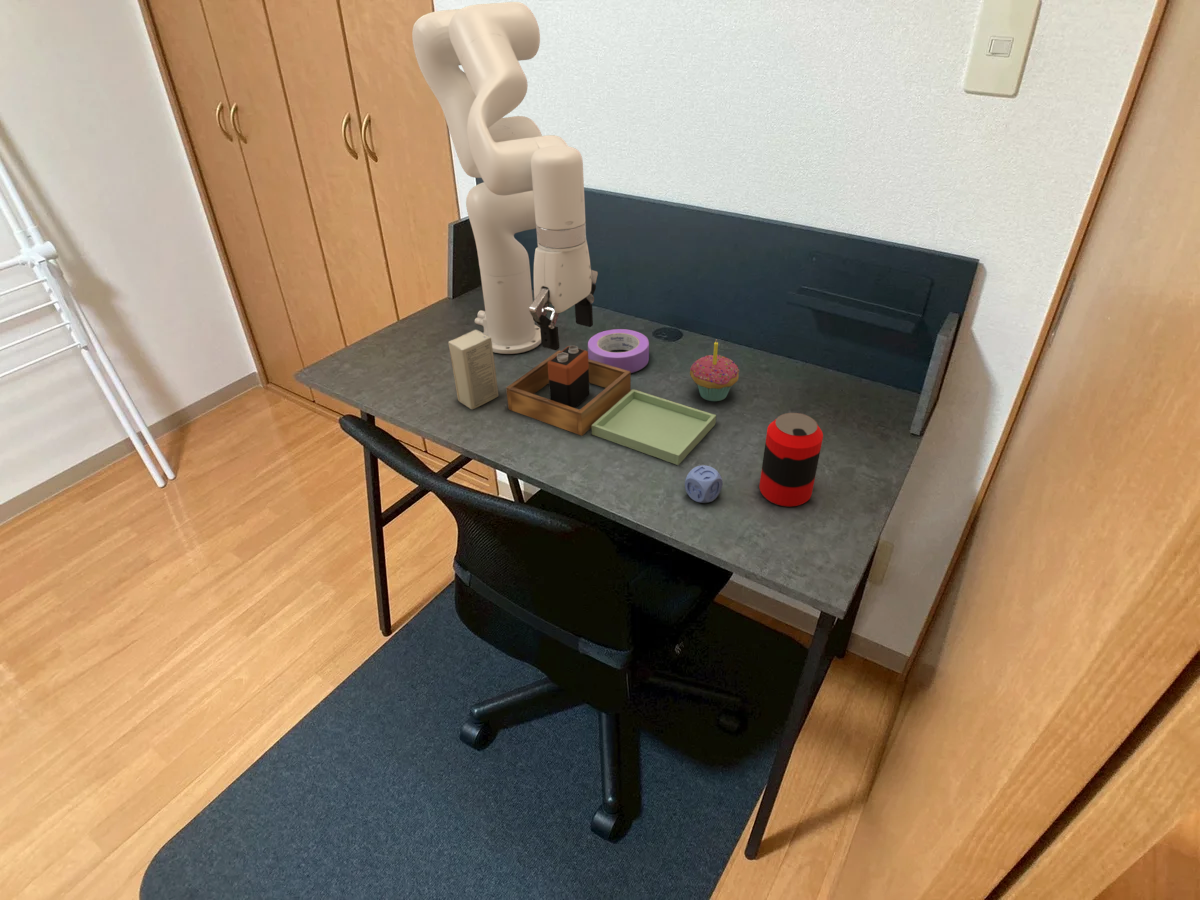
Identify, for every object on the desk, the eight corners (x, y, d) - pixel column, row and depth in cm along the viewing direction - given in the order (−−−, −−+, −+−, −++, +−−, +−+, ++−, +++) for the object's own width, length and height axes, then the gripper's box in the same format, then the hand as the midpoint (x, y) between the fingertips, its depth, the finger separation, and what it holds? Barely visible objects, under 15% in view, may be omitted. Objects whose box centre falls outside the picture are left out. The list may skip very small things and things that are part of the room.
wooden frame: (508, 409, 126) (505, 387, 123) (560, 371, 137) (558, 349, 134) (582, 436, 119) (581, 413, 116) (630, 393, 130) (630, 371, 127)
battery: (549, 407, 126) (545, 357, 120) (570, 389, 131) (567, 340, 125) (570, 413, 125) (567, 363, 119) (590, 395, 129) (589, 345, 123)
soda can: (764, 508, 103) (774, 440, 96) (754, 475, 110) (763, 409, 102) (817, 507, 103) (831, 439, 96) (804, 474, 109) (817, 408, 102)
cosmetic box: (485, 388, 132) (476, 328, 125) (500, 397, 129) (492, 336, 122) (456, 401, 129) (446, 340, 121) (471, 411, 126) (462, 349, 119)
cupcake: (735, 409, 124) (741, 347, 117) (686, 404, 126) (689, 343, 119) (737, 383, 131) (744, 324, 124) (691, 380, 133) (694, 320, 126)
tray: (591, 434, 119) (591, 425, 118) (632, 398, 128) (632, 388, 127) (678, 465, 112) (678, 455, 111) (715, 424, 121) (716, 415, 120)
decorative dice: (701, 482, 109) (703, 461, 106) (722, 494, 106) (724, 473, 104) (683, 494, 106) (684, 473, 104) (704, 507, 104) (705, 485, 102)
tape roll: (576, 365, 138) (575, 347, 136) (609, 340, 146) (609, 323, 144) (628, 381, 133) (628, 363, 131) (659, 355, 141) (660, 337, 138)
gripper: (573, 215, 117) (578, 312, 127) (506, 248, 106) (517, 352, 116) (612, 221, 114) (614, 321, 124) (547, 256, 102) (555, 363, 112)
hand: (567, 336), depth 120 cm, fingers open, 9 cm apart
